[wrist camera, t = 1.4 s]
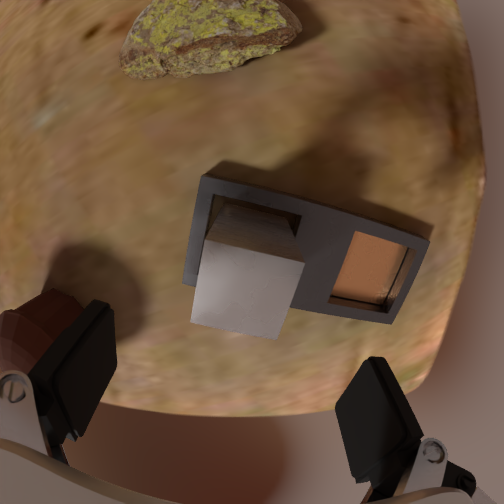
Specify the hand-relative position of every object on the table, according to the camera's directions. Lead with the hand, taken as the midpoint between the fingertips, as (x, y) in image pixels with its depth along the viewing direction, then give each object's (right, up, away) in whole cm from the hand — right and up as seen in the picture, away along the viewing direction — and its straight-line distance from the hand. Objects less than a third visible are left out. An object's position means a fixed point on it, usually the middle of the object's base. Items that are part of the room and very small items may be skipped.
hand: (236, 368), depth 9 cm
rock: (-3, +21, +5) cm, 22 cm away
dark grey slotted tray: (+5, +4, +12) cm, 13 cm away
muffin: (-20, -4, +15) cm, 25 cm away
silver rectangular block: (0, +5, +11) cm, 12 cm away
